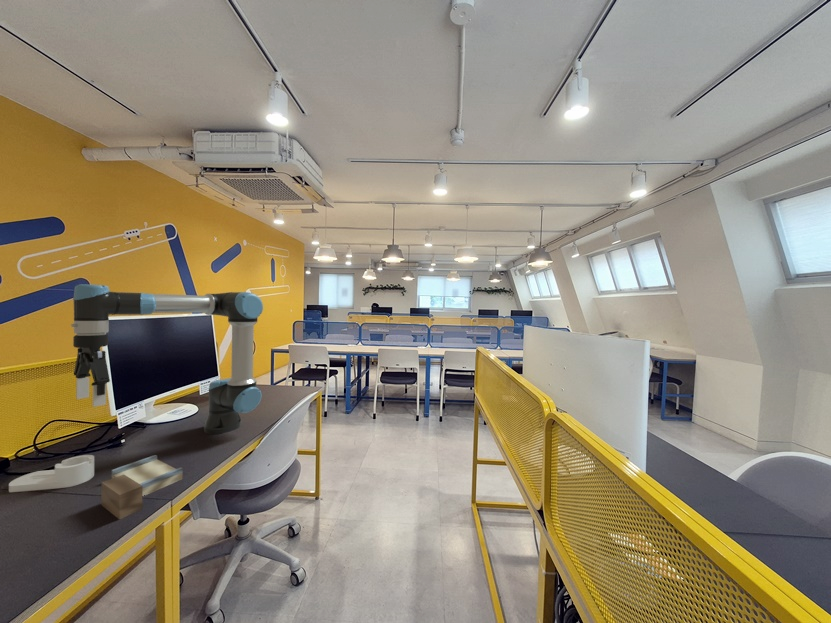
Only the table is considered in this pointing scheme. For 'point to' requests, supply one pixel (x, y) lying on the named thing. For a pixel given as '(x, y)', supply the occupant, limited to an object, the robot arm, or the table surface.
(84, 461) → the white elongated piece
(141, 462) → the cream tray
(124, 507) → the brown boxy block
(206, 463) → the table surface
